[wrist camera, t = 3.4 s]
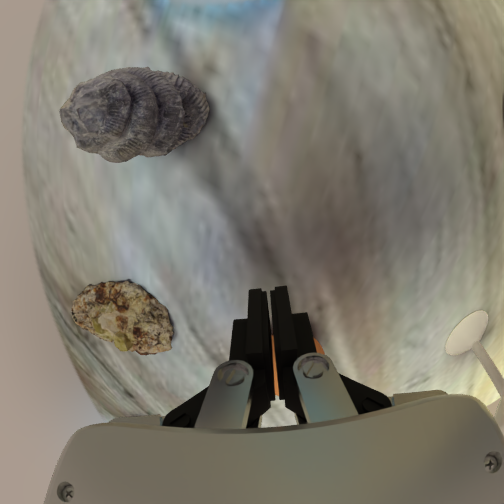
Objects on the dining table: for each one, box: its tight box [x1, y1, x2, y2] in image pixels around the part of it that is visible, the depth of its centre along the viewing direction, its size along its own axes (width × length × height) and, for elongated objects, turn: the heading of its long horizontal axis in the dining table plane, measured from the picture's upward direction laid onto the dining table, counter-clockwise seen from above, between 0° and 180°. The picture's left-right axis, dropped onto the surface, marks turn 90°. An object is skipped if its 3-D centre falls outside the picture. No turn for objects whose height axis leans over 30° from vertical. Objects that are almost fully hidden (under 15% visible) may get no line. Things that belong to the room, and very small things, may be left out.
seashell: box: [59, 67, 209, 163], centre depth 11 cm, size 5×5×10 cm
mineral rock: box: [72, 281, 174, 355], centre depth 22 cm, size 11×4×8 cm
